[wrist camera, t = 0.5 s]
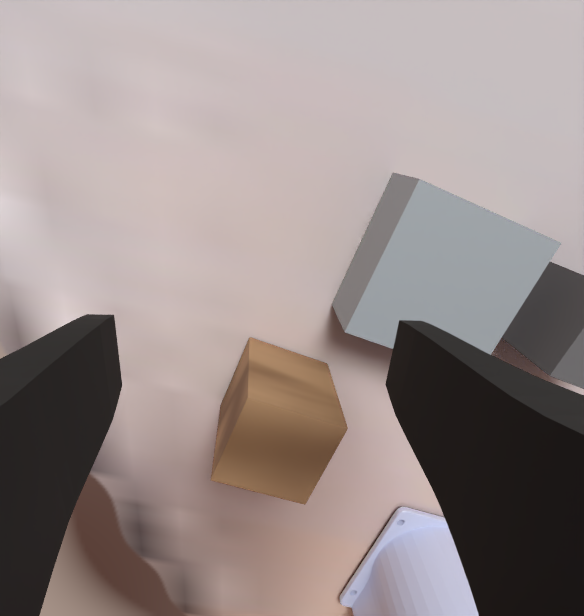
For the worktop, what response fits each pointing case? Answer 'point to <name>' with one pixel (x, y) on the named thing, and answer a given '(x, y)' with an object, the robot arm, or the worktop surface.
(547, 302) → the charcoal block
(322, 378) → the walnut block
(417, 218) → the slate base block
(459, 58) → the worktop surface
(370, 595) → the robot arm
